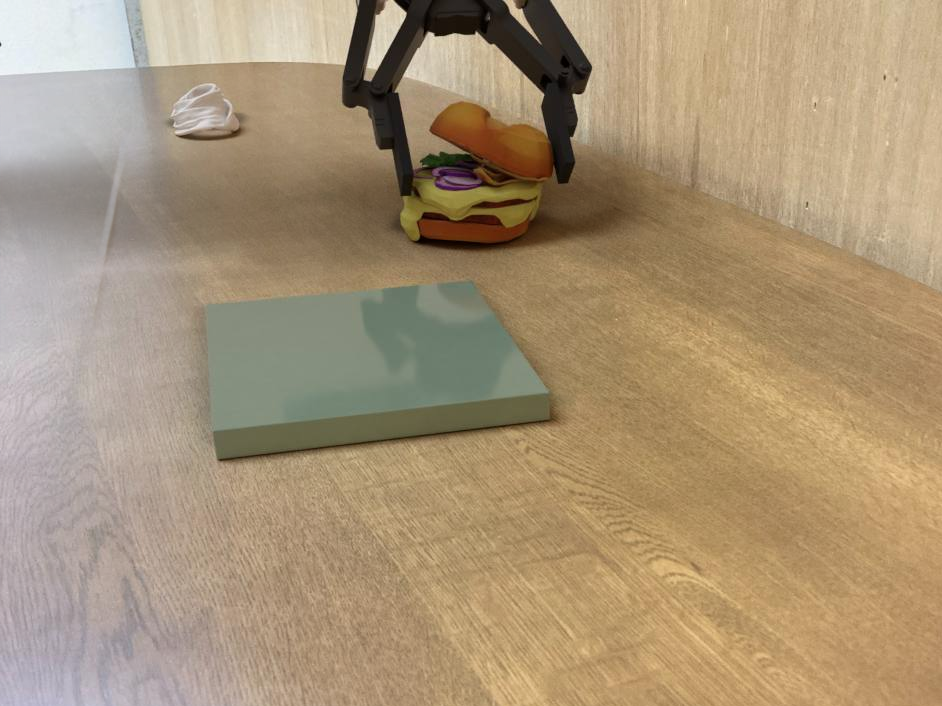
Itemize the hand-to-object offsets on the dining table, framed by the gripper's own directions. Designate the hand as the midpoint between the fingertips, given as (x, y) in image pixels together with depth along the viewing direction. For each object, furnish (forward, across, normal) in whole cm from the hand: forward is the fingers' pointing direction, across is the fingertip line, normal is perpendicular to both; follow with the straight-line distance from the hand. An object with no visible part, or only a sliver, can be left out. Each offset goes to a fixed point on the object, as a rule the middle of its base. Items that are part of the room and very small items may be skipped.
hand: (488, 179), depth 81 cm
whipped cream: (-29, -19, +36) cm, 50 cm away
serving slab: (+19, -12, -13) cm, 26 cm away
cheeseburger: (+1, 0, +5) cm, 5 cm away
